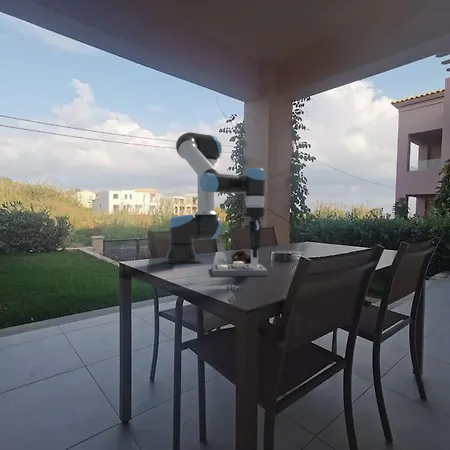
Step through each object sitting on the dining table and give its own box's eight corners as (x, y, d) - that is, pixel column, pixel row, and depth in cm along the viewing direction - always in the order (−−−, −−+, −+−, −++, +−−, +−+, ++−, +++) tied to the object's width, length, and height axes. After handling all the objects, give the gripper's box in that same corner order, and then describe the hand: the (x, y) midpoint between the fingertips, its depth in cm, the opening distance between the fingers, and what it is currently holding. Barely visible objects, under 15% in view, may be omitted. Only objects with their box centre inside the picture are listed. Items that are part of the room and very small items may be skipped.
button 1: (216, 270, 124) (216, 264, 124) (227, 270, 125) (227, 264, 125) (217, 272, 120) (217, 266, 120) (228, 272, 120) (228, 266, 120)
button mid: (232, 266, 125) (232, 261, 125) (242, 266, 125) (242, 261, 125) (233, 268, 121) (233, 263, 120) (244, 268, 121) (244, 263, 121)
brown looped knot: (256, 268, 140) (249, 253, 137) (237, 277, 140) (230, 262, 137) (250, 257, 151) (244, 244, 149) (233, 265, 151) (226, 252, 149)
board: (211, 271, 129) (211, 264, 129) (259, 271, 131) (259, 263, 131) (213, 279, 115) (213, 270, 115) (267, 278, 117) (267, 270, 117)
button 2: (247, 270, 126) (247, 264, 126) (258, 269, 126) (258, 264, 126) (249, 272, 121) (249, 266, 121) (260, 272, 122) (260, 266, 122)
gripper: (243, 207, 128) (242, 262, 130) (248, 206, 115) (248, 268, 117) (260, 207, 129) (259, 262, 130) (268, 206, 116) (267, 267, 117)
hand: (254, 264), depth 123 cm, fingers closed
